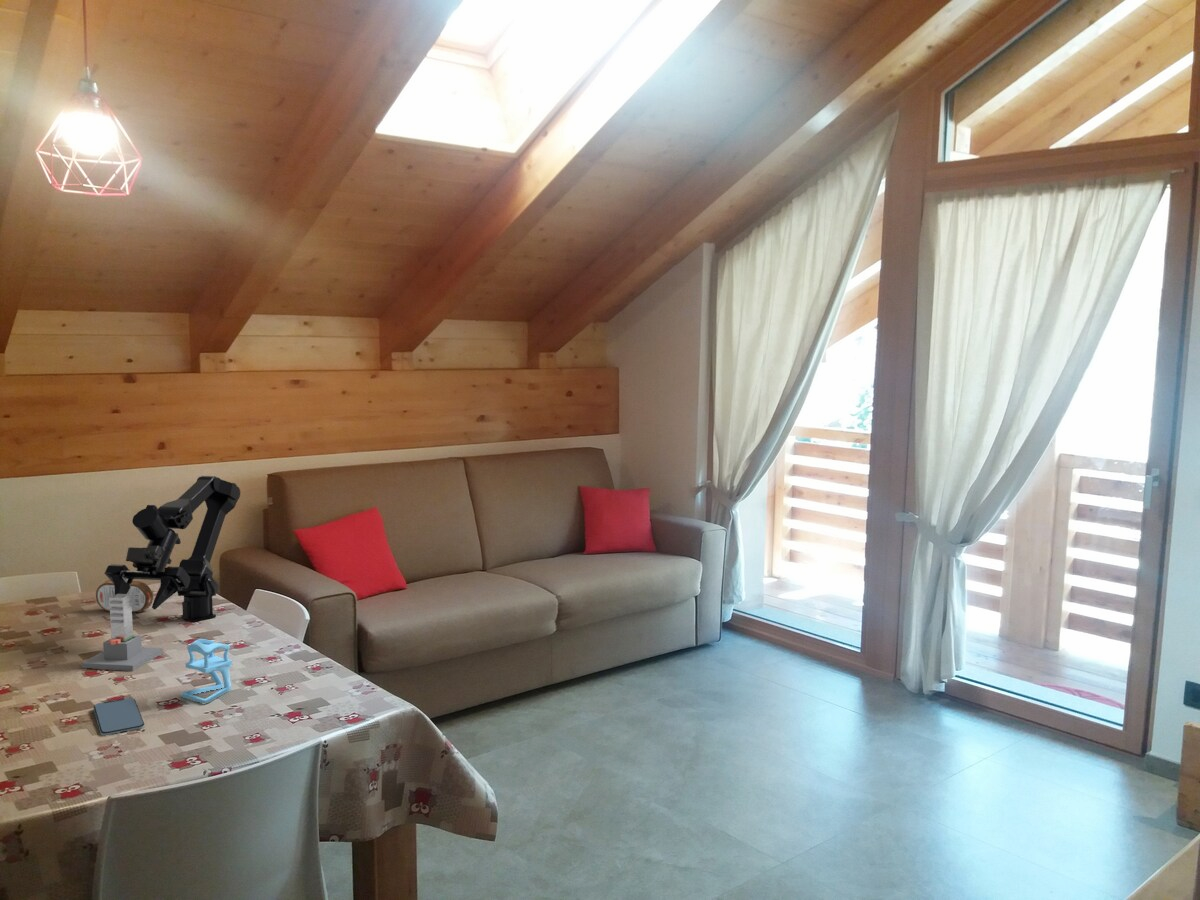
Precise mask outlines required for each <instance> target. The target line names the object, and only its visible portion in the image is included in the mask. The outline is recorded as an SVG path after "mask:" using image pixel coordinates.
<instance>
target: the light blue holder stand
mask: <svg viewBox="0 0 1200 900" xmlns="http://www.w3.org/2000/svg"><path fill="white" fill-rule="evenodd" d="M186 648H187V649H186V650H187V652H188V654H189V661H188V662H185V668H187V669H192V670H196V671H199V672H200V673H203V674H209V675H210V677H211V678H212V680H213V682H215V684H213V685H208V686H204V687H198V688H194V689H190V690H186V691H182V692H181V698H182V697H183V699H185V698H187V700H189V699H190V700H189V701H192V700H194V701H193V702H195V701H197V702H196V703H198V702H200V703H199V704H201V703H208V702H210V701H212V700H213V701H215V700H216V698H217V697H218V698H220V697H221V695H222V696H223V695H225V694H226V692H227V693H229V692H230V690H231V691H232V685H231V684H232V683H231V677H230V668H231V665H233V660H232V659H229V650H230V648H231V644H230V643H229V644H224V643H220V642H215V640H214V639H212V640H211V639H209V640H208V639H205V638H198V639H196V640H194V641H192V642H191V643H190V644H189V645H187V646H186ZM220 649H221V650H225V651H224V652H223V657H220V656H217V655H216V654H215V655H214V652H215V651H216V650H220ZM193 652H195V653H199V654H201V655H203V656H204V657H201V658H200V659H196V660H195V656H194V653H193ZM217 672H220V674H221V676H222V679H221V678H220V676H219V674H218V673H217ZM222 680H223V681H222ZM223 687H224V688H223ZM221 688H222V689H221ZM216 689H218V690H216ZM210 690H214V691H215V692H214V693H213V694H211V695H210V696H208V697H206V698H203V697H200V696H198V694H197V693H199V694H202V693H201V692H204V693H207V692H206V691H209V692H211V691H210ZM228 691H229V692H228ZM224 693H225V694H224ZM193 694H195V695H193ZM219 696H220V697H219ZM218 698H217V699H218ZM214 699H215V700H214ZM213 701H212V702H213ZM210 703H211V702H210ZM208 704H209V703H208Z"/></svg>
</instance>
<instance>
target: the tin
mask: <svg viewBox="0 0 1200 900" xmlns="http://www.w3.org/2000/svg"><path fill="white" fill-rule="evenodd" d="M129 586H130V587H131V588H130V589H129V591H128V593H127V594H131V602H132V612H138V613H142V612H143V611H145V610H147V609H149V608H150V607H152V605H153V602H154V595H153V591H152V589H151V587H150V586H149V585H148V584H147V583H145V582H144V581H139V580H133V581H132V583H131V584H129ZM114 595H115V588H114V583H113V582H112V581H111V580H110V579H108V580H106V581H105V582H103V583H102V584H101V583H100V585H99V586H98V587H97V589H96V590H95V599H96V602H97V604H98V606H99V607H100V608H101V609H103V610H105V611H107V612H110V601H109V598H110V597H112V596H114Z"/></svg>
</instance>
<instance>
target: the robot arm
mask: <svg viewBox="0 0 1200 900" xmlns="http://www.w3.org/2000/svg"><path fill="white" fill-rule="evenodd" d="M240 496H241V488H240V487H239V486H238V485H237V484H236V483H235V482H230V481H227V480H224V479H221V478H220V477H217V476H215V475H214V476H213V475H201V476H198V477H197V479H196V481H195V482H194V483H193V484H192V485H190V487H189V488H188V489H186V491H185V492H183V494H181V496H179V497H178V498H177V499H175V500H171V501H168V502H165V503H164V504H162V505H160V506H159V507H157V505H155V504H147V505H146V507H145V508H143V509H141V510H138V512H137V513H136V514H134V515H133V517H132V524H133V527H135V529H136V530H137V531H138V532H139V533H140V534H141V536H142V537H143V538H144V539H145V540H148V543H147V546H146V547H133V546H131V547H128V548H127V551H126V552H127V553H126V556H125V557H126V558H125V561H126V562H130V563H132V567H133V568H135V569H136V570H131V569H129V568H128V567H127V565H126V564H117V563H116V564H115V563H111V564H109V565H107V567H106V569H105V571H104V572H103V573H104V575H105V576H106V577H107V578H108V580H111V581H112V582H113V583H114V588H115V595H116V594H127V593H128V591H129V589H130V588H131V587H130V586H129V584H131V583H132V581H134V580H148V581H151V580H152V581H160V584H159V585H160V586H159V588H158V590H157V591H156V595H155V597H154V598H153V602H152V604H151V608H152V609H153V610H157V609H158V608H159V607H160V606H161V605H163V603H165V602H166V601H167V600H168V599H170V598H171V597H172V596H173V595H174V594H176V593H177V596H179V597H183V601H182V603H181V604H182V607H181V608H182V614H181V615H180V616H181V617H180V618H182V619H185V620H188V621H190V622H199V621H203V620H206V619H207V620H208V619H212V618H215V617H217V614H215V613H214V609H213V607H214V606H213V597H214V596H216V595H217V594H218V591H219V584H218V582H217V581H216V580H215V579H214V577H213V576H214V575H213V574H214V572H213V568H212V566H211V560H212V557H213V554H214V552H215V548H216V544H217V542H218V539H219V536H220V533H221V530H222V528H223V524H224V521H225V518H226V515H228V513H230V512H231V511H232V510H233V509H235V507H236V505H237V502H238V500H239V499H240V498H241V497H240ZM203 503H205V505H206V506H205V507H206V508H207V509H206V512H205V515H204V518H203V521H202V524H201V526H200V529H199V532H198V535H197V538H196V541H195V543H194V547H193V550H192V552H191V556H190V557H189V558H188V559H186V558H185V559H183V558H182V560H180V562H179V565H178V566H167V565H171V563H172V561H173V560H172V559H171V555H172V552H173V550H174V548H175V545H181V538H180V537H179V533H177V532H175V530H186V529H187V528H188V527H189V525H190V523H191V522H192V520H194V517H193V514H194V512H195V511H196V510H197V509H198V508H199V507H200V506H201V505H202V504H203Z"/></svg>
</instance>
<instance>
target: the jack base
mask: <svg viewBox="0 0 1200 900" xmlns="http://www.w3.org/2000/svg"><path fill="white" fill-rule="evenodd" d="M142 645H143V644H142V635H134V638H133V639H131V640H129V641H127V642H121V639H111V638H109V639H107V640H105V641H104V642H103V643H102V646H103V651H102V652H100V653H98V654H96V655H93V656H92V657H89V658H88V659H86V660H84V661H82V663H81V669H87V668H92V669H91V670H111V671H126V672H127V671H131V672H132V671H136V670H137V669H138V668H140V667H142V666H143V665H145V664H147V663H148V662H151V661H152V660H154V659H155V658H156V657H158V656H160V655H162V654H163V653H164V650H163V649H164V648H163V647H156V646H155V647H152V646H142Z"/></svg>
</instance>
